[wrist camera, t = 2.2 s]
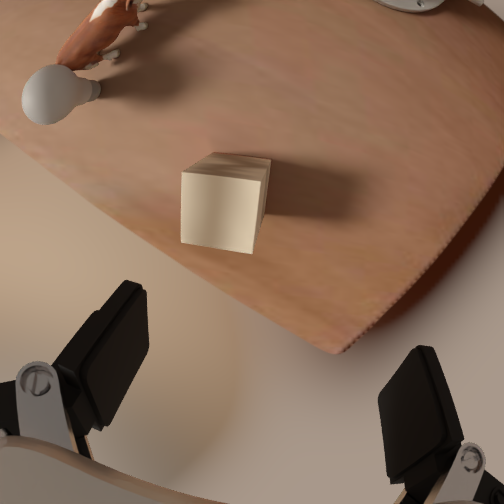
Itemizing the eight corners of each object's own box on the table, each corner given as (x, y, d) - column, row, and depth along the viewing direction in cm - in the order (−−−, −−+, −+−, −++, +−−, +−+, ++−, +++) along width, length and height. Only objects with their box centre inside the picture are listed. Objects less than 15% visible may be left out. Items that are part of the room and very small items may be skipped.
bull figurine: (188, 7, 22) (155, -17, 15) (96, 79, 27) (48, 81, 20) (170, -17, 21) (135, -43, 13) (82, 55, 25) (35, 53, 18)
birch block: (271, 159, 29) (260, 181, 21) (264, 214, 32) (252, 254, 24) (213, 152, 30) (181, 172, 22) (209, 206, 32) (180, 242, 25)
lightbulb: (125, 95, 27) (58, 100, 18) (89, 124, 29) (23, 142, 20) (104, 56, 25) (37, 51, 16) (71, 87, 27) (4, 95, 18)
